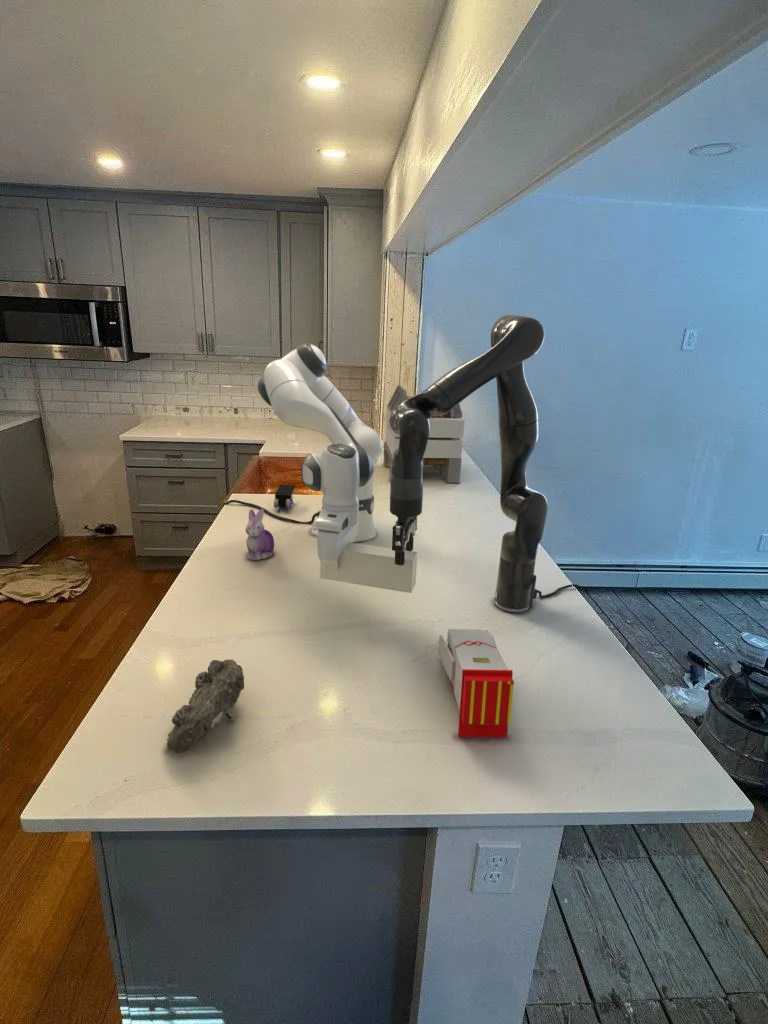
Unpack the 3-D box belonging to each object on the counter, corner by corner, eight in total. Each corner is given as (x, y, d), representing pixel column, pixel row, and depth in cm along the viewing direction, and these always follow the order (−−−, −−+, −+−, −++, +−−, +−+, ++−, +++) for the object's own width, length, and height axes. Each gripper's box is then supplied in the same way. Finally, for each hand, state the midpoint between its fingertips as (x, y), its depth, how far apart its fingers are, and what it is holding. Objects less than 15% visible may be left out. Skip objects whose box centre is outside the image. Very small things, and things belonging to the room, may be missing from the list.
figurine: (249, 563, 172) (248, 517, 167) (241, 550, 180) (239, 506, 175) (280, 558, 176) (279, 513, 171) (270, 546, 184) (269, 502, 179)
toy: (488, 613, 130) (523, 677, 101) (484, 667, 133) (517, 744, 104) (435, 612, 130) (455, 676, 101) (432, 666, 133) (451, 743, 103)
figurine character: (291, 517, 214) (296, 500, 227) (290, 499, 211) (295, 483, 224) (273, 516, 214) (279, 500, 227) (272, 498, 210) (278, 482, 224)
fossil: (192, 660, 117) (244, 628, 112) (224, 691, 120) (276, 661, 115) (142, 746, 98) (202, 712, 93) (182, 779, 101) (242, 748, 96)
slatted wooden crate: (382, 463, 289) (386, 382, 275) (445, 464, 293) (451, 384, 279) (390, 482, 257) (394, 392, 243) (460, 483, 261) (468, 394, 247)
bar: (320, 578, 142) (320, 546, 139) (327, 570, 146) (327, 539, 143) (411, 593, 136) (412, 560, 133) (415, 584, 141) (417, 552, 138)
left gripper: (342, 498, 147) (341, 546, 152) (312, 524, 129) (312, 579, 133) (365, 501, 146) (364, 550, 150) (338, 528, 127) (337, 583, 132)
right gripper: (415, 505, 123) (412, 572, 129) (428, 486, 136) (425, 547, 142) (382, 501, 125) (380, 567, 131) (398, 482, 138) (396, 544, 144)
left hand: (339, 564), depth 142 cm, fingers closed on bar, 5 cm apart
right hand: (404, 557), depth 136 cm, fingers open, 8 cm apart
